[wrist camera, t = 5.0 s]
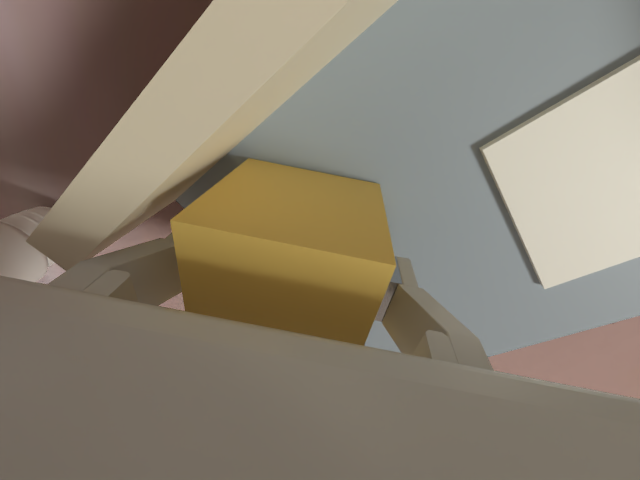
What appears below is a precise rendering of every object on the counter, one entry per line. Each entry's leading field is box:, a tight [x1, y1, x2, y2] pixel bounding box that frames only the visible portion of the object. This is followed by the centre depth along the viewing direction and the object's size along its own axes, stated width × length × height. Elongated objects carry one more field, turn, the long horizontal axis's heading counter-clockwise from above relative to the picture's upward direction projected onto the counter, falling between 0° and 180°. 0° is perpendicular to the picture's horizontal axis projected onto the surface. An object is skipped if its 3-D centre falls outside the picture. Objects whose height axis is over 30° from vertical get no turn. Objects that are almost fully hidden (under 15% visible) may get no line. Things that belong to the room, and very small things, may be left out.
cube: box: [170, 158, 396, 346], centre depth 9 cm, size 5×5×5 cm
